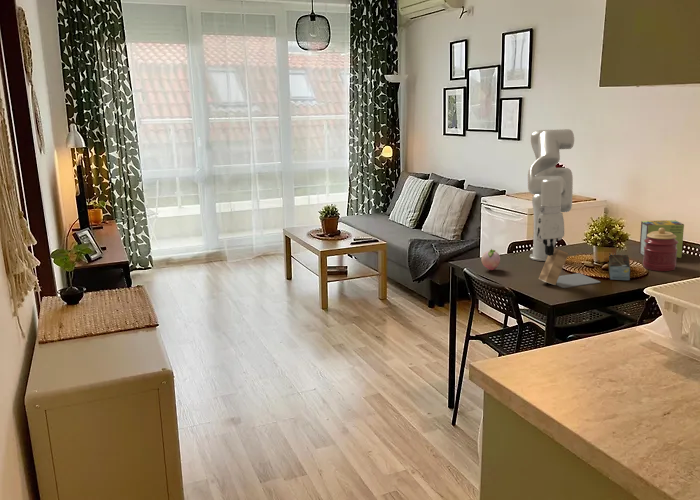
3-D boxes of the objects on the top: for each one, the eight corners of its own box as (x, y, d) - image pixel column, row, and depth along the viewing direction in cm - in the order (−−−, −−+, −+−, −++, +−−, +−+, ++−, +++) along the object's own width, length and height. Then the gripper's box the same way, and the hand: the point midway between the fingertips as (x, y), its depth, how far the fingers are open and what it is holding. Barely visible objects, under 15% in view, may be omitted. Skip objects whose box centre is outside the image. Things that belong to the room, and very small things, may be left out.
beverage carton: (608, 279, 242) (609, 264, 241) (608, 267, 259) (608, 253, 258) (629, 281, 239) (630, 265, 238) (628, 268, 256) (628, 254, 255)
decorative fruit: (481, 267, 269) (481, 246, 267) (500, 267, 267) (500, 246, 265) (480, 273, 260) (480, 251, 258) (499, 273, 258) (500, 251, 256)
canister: (677, 272, 246) (680, 231, 242) (642, 270, 251) (645, 230, 247) (675, 264, 257) (678, 225, 253) (642, 262, 263) (644, 224, 259)
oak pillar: (538, 278, 241) (551, 246, 240) (548, 282, 243) (561, 250, 241) (545, 282, 237) (558, 249, 235) (555, 285, 238) (568, 253, 236)
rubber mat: (542, 279, 247) (543, 278, 247) (579, 274, 251) (579, 273, 251) (563, 288, 234) (563, 287, 234) (600, 282, 238) (600, 281, 238)
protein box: (682, 257, 267) (684, 224, 264) (645, 258, 270) (648, 225, 266) (673, 252, 277) (676, 219, 274) (638, 252, 280) (640, 220, 276)
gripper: (539, 213, 228) (538, 259, 232) (572, 209, 231) (571, 254, 235) (528, 210, 235) (527, 254, 239) (561, 206, 238) (560, 250, 243)
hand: (549, 254), depth 237 cm, fingers closed
